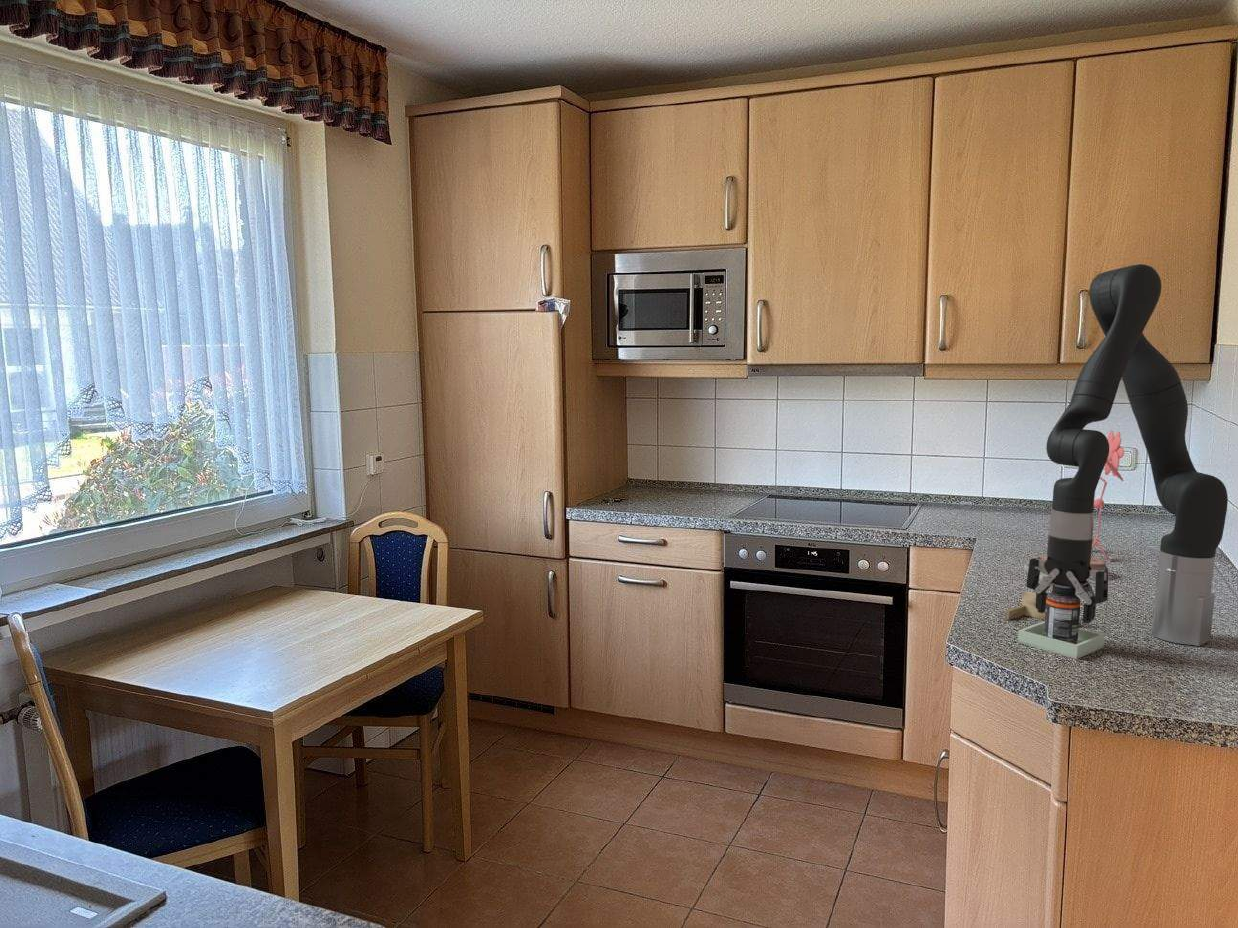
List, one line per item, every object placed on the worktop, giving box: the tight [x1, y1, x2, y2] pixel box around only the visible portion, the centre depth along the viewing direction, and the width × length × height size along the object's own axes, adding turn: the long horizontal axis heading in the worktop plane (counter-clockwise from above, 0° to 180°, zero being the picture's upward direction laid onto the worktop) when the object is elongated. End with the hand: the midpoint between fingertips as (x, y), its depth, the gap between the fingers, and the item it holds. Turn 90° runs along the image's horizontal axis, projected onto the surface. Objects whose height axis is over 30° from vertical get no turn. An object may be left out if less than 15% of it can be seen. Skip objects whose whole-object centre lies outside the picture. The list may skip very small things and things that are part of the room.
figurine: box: [1092, 430, 1125, 562], centre depth 248 cm, size 15×26×35 cm, turn 170°
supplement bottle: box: [1044, 583, 1082, 644], centre depth 174 cm, size 6×6×11 cm
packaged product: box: [1023, 555, 1114, 580], centre depth 230 cm, size 18×5×10 cm
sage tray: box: [1017, 620, 1106, 660], centre depth 174 cm, size 11×11×2 cm
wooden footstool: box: [1004, 590, 1045, 622], centre depth 188 cm, size 10×8×5 cm
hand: (1063, 617), depth 173 cm, fingers open, 8 cm apart
